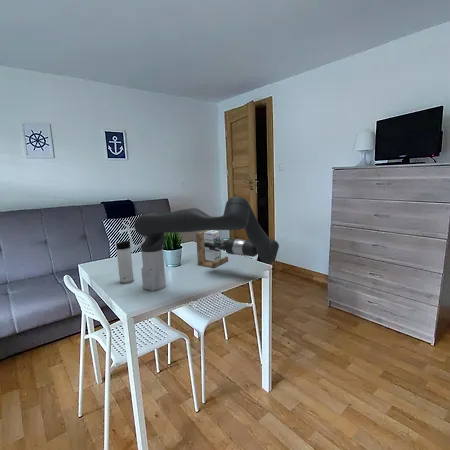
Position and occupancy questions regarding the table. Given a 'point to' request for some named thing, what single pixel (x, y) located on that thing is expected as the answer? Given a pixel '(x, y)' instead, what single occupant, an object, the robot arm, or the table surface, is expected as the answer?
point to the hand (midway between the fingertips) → (208, 243)
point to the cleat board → (201, 253)
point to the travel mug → (125, 262)
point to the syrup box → (212, 238)
